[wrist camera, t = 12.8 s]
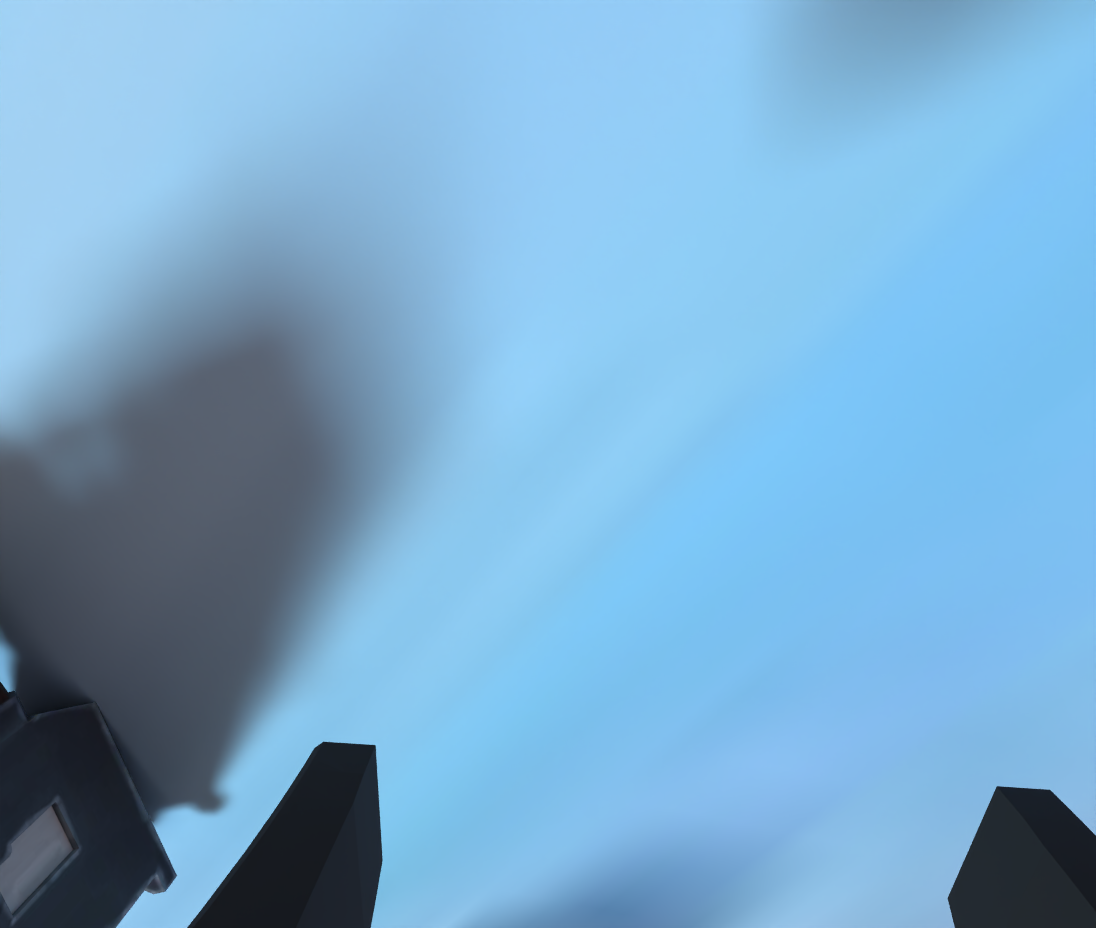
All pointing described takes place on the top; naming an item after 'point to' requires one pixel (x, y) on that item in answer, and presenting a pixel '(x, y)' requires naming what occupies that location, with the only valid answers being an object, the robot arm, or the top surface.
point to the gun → (70, 823)
